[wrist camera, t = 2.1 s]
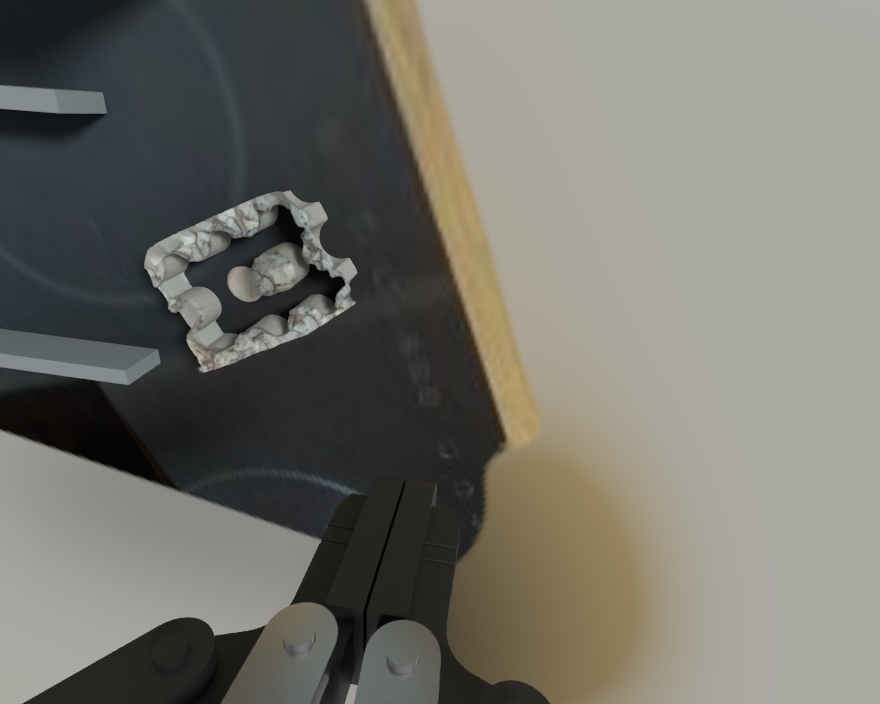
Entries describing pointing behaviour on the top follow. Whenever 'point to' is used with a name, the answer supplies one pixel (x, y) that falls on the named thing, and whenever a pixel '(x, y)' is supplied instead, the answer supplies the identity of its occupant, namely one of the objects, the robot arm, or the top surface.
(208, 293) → the egg carton
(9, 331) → the grey u-shaped frame
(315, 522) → the top surface
